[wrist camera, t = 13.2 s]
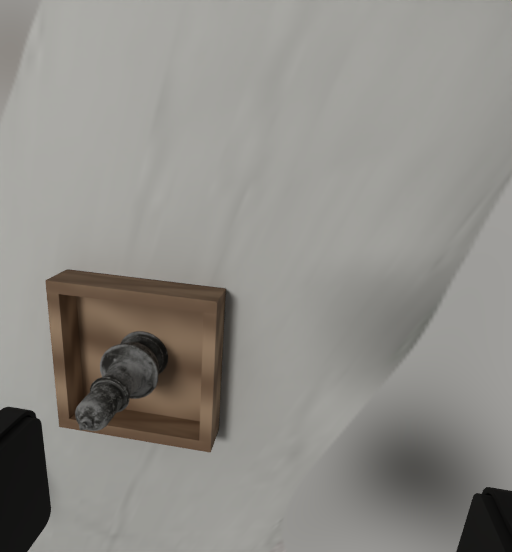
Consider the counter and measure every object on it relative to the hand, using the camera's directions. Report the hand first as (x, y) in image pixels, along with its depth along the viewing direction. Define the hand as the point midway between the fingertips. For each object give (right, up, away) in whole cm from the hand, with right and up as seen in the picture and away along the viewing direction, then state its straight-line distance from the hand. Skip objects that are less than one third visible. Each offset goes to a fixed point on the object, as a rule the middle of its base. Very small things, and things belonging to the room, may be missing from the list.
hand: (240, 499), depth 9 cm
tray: (-11, -3, +35) cm, 37 cm away
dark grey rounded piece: (-11, -3, +35) cm, 36 cm away
